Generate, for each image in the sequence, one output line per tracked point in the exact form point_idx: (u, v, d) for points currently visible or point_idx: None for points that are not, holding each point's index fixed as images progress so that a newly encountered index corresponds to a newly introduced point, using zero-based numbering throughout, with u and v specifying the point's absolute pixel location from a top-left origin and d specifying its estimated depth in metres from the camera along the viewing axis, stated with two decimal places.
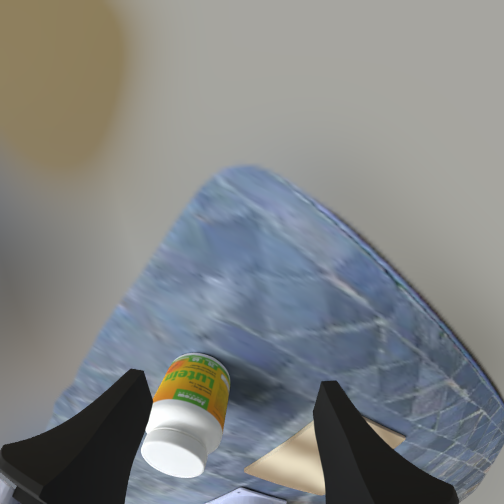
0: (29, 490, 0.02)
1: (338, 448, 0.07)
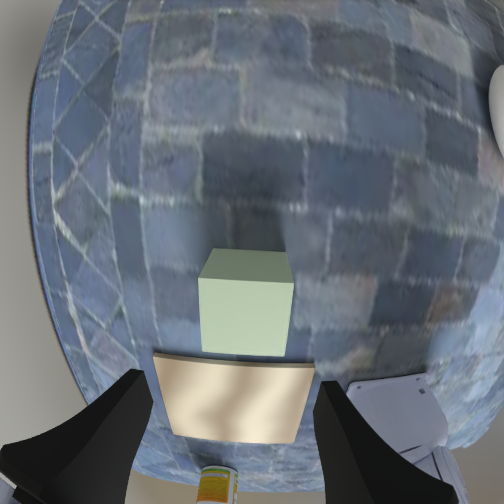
0: (29, 490, 0.02)
1: (338, 448, 0.07)
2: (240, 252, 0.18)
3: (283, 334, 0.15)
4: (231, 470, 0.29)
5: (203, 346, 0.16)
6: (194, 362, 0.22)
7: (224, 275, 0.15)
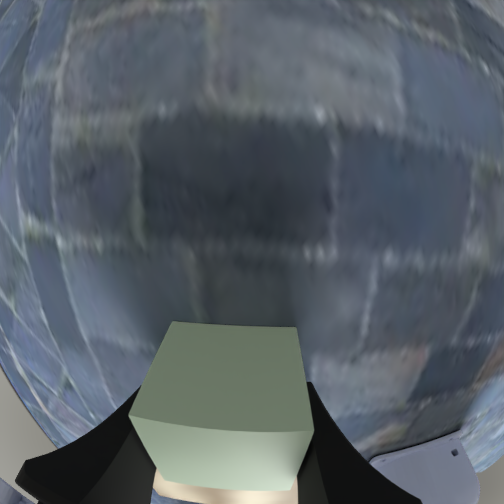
0: None
1: (307, 451, 0.07)
2: (216, 334, 0.10)
3: (289, 476, 0.07)
4: None
5: (164, 477, 0.07)
6: None
7: (177, 411, 0.06)
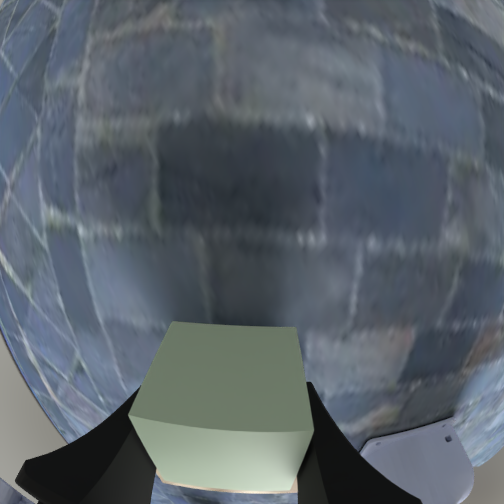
0: None
1: (306, 451, 0.07)
2: (216, 334, 0.10)
3: (289, 476, 0.07)
4: None
5: (164, 477, 0.07)
6: None
7: (177, 410, 0.06)
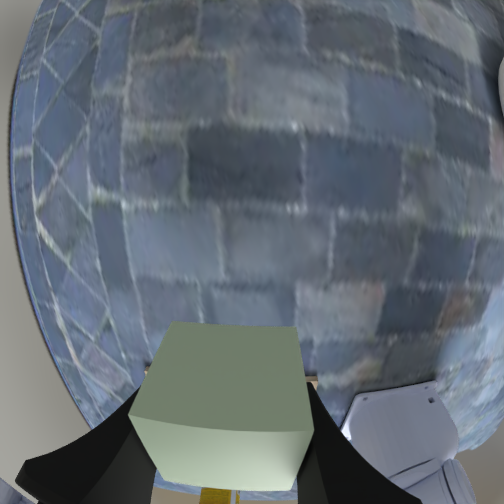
0: None
1: (307, 451, 0.07)
2: (216, 333, 0.10)
3: (289, 476, 0.07)
4: None
5: (164, 477, 0.07)
6: None
7: (177, 410, 0.06)
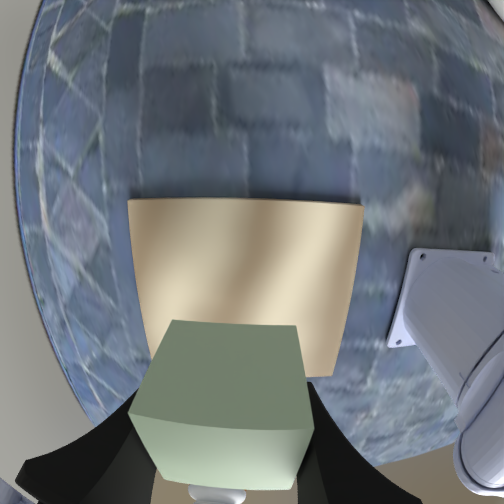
0: None
1: (306, 451, 0.07)
2: (216, 332, 0.10)
3: (289, 475, 0.07)
4: None
5: (164, 476, 0.07)
6: (186, 198, 0.15)
7: (177, 408, 0.06)
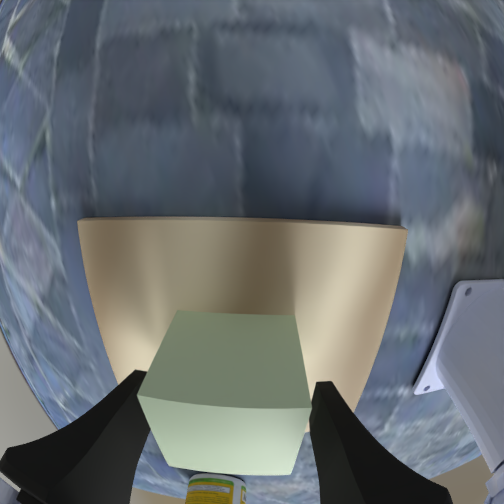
0: (35, 494, 0.02)
1: (332, 449, 0.07)
2: (219, 321, 0.11)
3: (289, 458, 0.08)
4: (235, 481, 0.18)
5: (169, 462, 0.08)
6: (151, 219, 0.10)
7: (183, 390, 0.07)
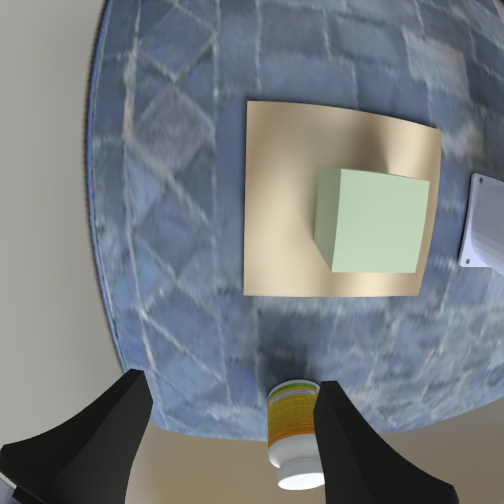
0: (29, 490, 0.02)
1: (338, 448, 0.07)
2: None
3: (417, 243, 0.13)
4: (317, 385, 0.22)
5: (334, 264, 0.13)
6: (308, 104, 0.15)
7: (364, 171, 0.12)
